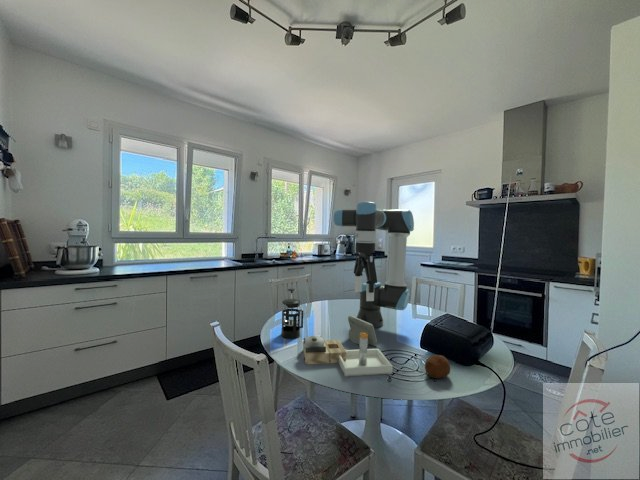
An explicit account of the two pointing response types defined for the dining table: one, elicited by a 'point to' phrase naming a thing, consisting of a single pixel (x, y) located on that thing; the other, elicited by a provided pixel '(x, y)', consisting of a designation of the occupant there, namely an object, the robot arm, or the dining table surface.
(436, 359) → the potato
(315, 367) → the dining table surface
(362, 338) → the pin
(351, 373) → the tray
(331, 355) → the wooden holder
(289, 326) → the french press
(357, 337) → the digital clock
